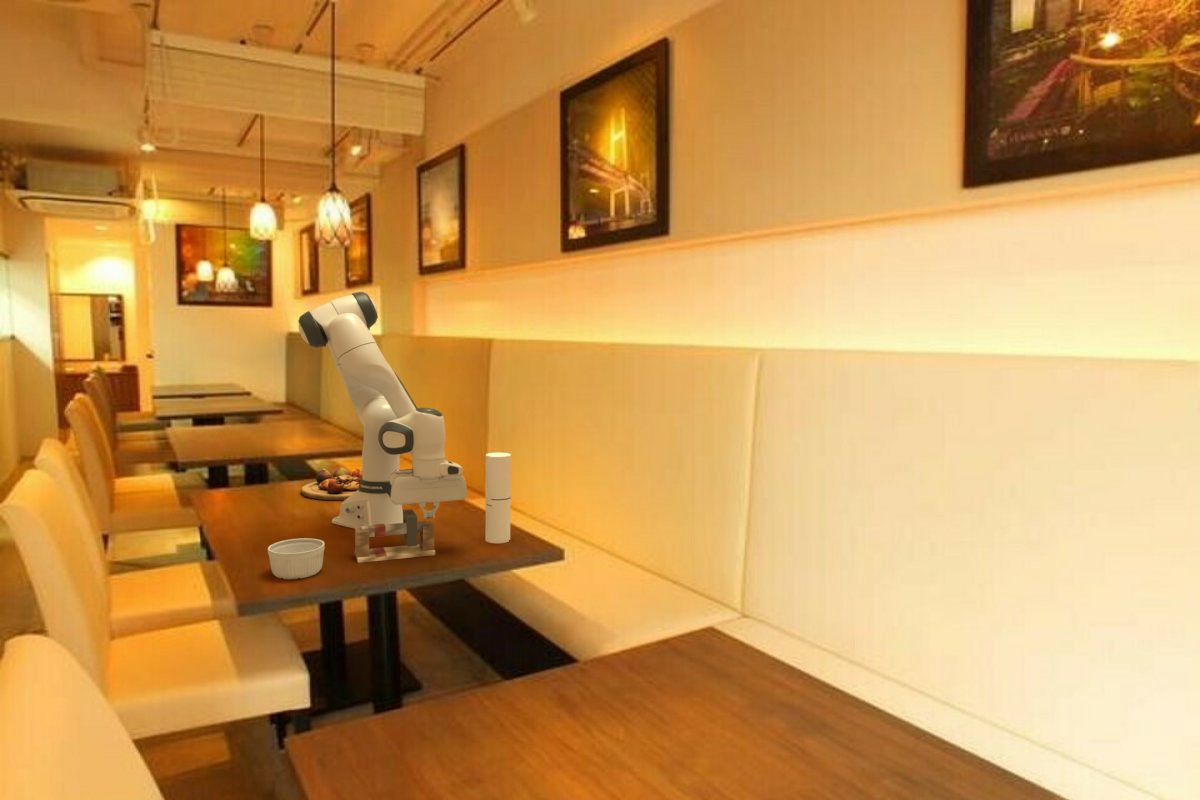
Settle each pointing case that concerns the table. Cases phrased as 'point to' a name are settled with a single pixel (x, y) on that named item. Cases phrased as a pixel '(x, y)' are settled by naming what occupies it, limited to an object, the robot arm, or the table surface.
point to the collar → (410, 527)
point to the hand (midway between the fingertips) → (429, 517)
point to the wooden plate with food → (333, 485)
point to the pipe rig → (398, 551)
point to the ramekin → (296, 557)
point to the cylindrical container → (498, 497)
